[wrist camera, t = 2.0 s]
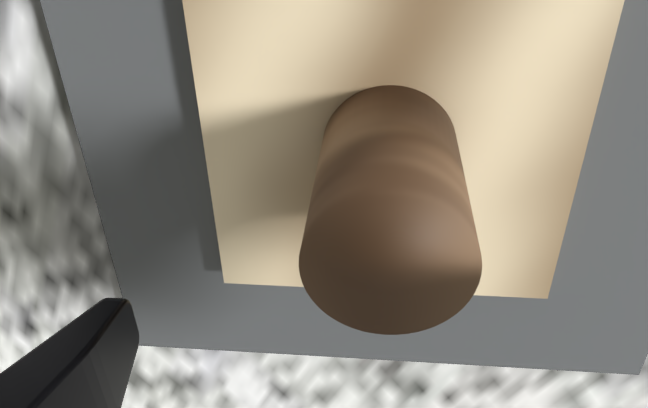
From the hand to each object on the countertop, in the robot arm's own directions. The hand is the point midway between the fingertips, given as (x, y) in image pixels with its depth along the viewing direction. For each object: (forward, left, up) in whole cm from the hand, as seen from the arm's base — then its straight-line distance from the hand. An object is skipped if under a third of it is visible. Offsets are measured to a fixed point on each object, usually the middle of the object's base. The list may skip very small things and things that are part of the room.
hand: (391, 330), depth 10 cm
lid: (0, 0, -8) cm, 8 cm away
